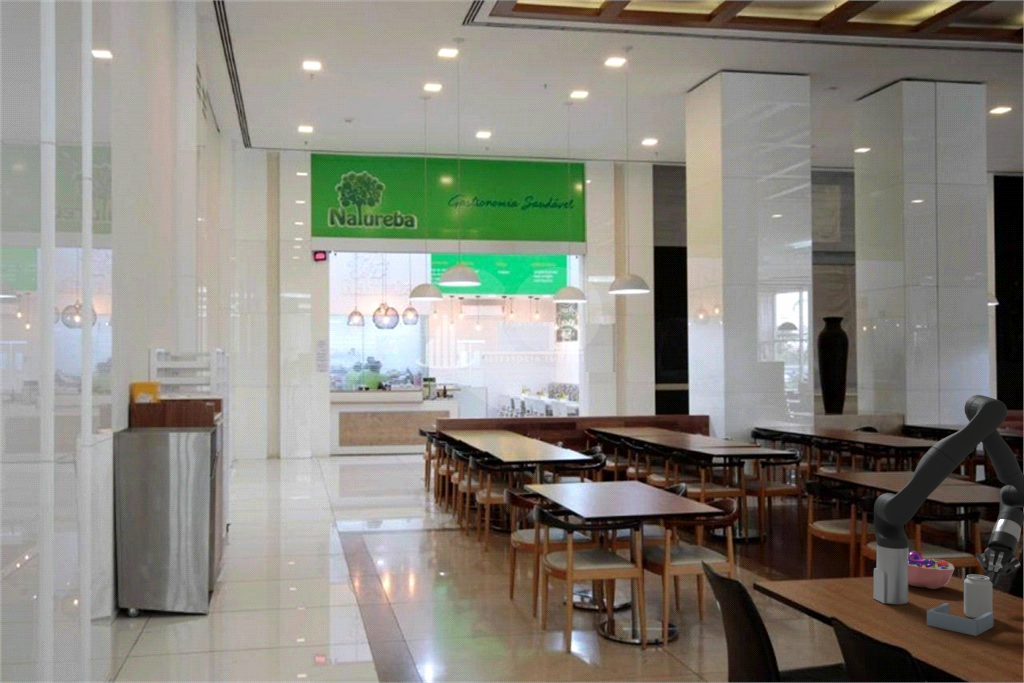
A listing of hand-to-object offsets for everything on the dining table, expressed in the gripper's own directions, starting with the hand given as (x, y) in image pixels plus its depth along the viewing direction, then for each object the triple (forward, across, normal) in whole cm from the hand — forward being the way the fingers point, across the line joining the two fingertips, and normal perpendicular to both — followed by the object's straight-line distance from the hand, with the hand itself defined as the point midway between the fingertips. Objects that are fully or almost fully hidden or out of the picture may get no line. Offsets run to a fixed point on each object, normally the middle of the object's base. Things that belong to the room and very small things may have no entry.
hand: (990, 583), depth 278 cm
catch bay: (+22, 0, -10) cm, 24 cm away
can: (+12, 0, -1) cm, 13 cm away
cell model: (-4, -26, +16) cm, 30 cm away
